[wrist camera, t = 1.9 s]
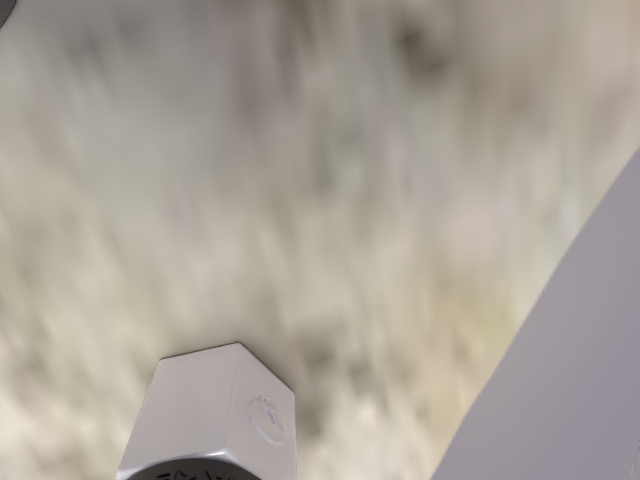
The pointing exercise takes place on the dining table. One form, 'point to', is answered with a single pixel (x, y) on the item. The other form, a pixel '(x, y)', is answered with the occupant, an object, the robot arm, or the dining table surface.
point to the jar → (213, 421)
